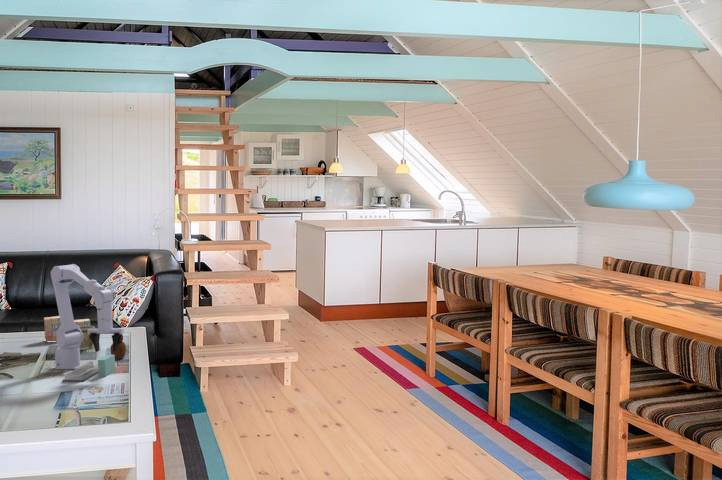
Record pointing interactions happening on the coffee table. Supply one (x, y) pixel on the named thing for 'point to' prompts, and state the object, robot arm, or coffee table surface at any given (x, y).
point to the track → (82, 373)
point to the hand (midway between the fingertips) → (106, 351)
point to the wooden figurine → (119, 349)
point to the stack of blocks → (58, 326)
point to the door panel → (106, 365)
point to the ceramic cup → (86, 338)
